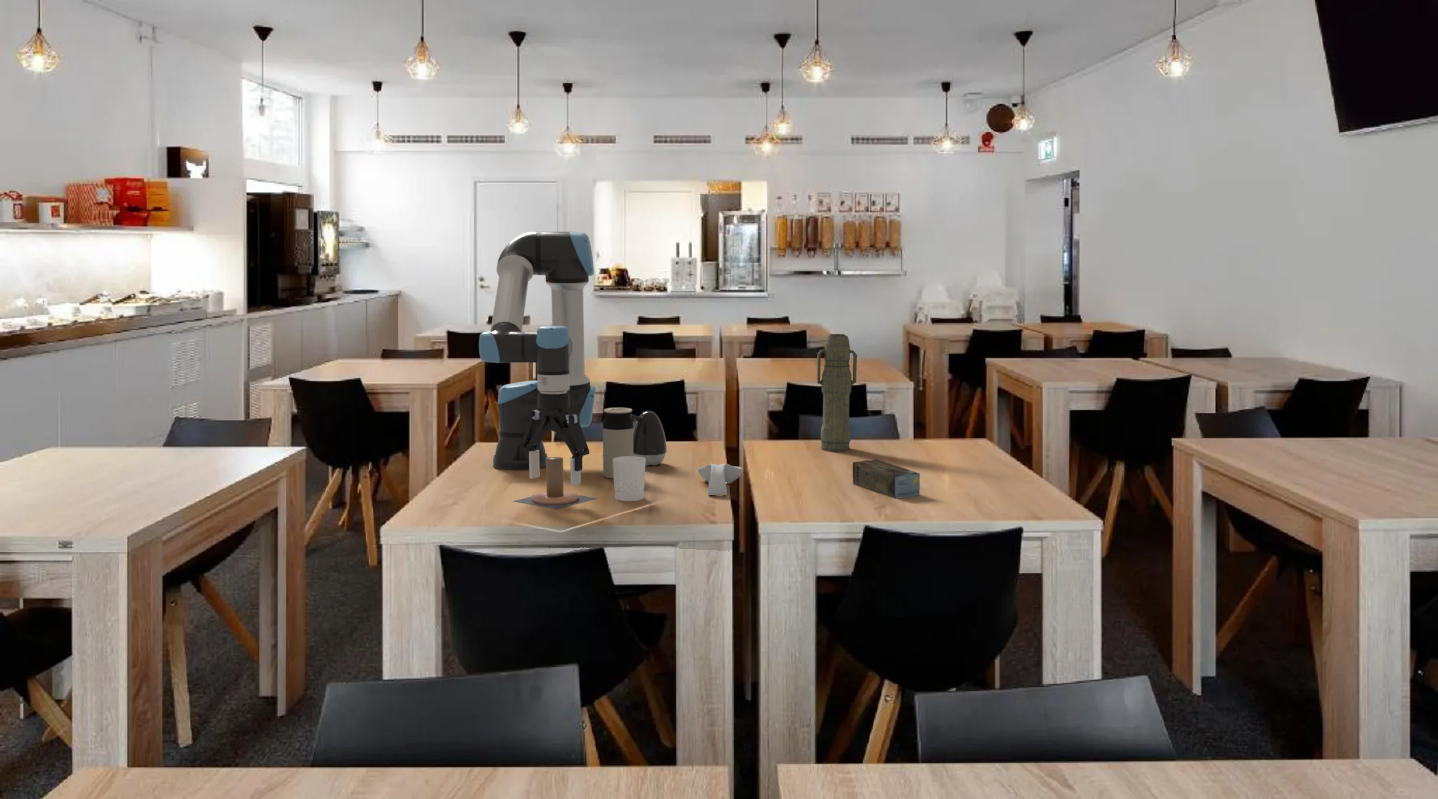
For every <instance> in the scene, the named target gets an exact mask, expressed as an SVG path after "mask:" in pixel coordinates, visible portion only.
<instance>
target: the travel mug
mask: <svg viewBox="0 0 1438 799" xmlns="http://www.w3.org/2000/svg"><path fill="white" fill-rule="evenodd" d="M632 412H633V409H632V408H628V407H608V408H604V409H603V413H604V416H605V417H604V419H603V421H602V465H603V466H602V467H603V468H602V469H603V470H602V474H603V477H604V478H607V479H611V480H614V477H613V459H614V458H617V457H624V456H633V431H634V420H633V419H632V418H631V417H630V416H631V415H632Z"/></svg>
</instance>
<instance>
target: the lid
mask: <svg viewBox="0 0 1438 799" xmlns="http://www.w3.org/2000/svg"><path fill="white" fill-rule="evenodd" d="M545 477H546V478H545V480H546V488H545V489H546V491H540V492H535V493H534V494H532V502H534V503H537V504H543V505H562V504H569V503H573V502H576V501H578V495H579V493H577V492H574V491H571V490H570V491H569V490H564V458H563V457H559V456H550V457H548V458H546V466H545Z"/></svg>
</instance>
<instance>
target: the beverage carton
mask: <svg viewBox="0 0 1438 799" xmlns="http://www.w3.org/2000/svg"><path fill="white" fill-rule="evenodd" d="M920 480H921V474H920V473H919V472H916V471H913V470H911V469H908V468H905V467H901V466H899V465H895V464H892V463H890V462H886V461H883V460H880V459H877V458H876V459H869V460H868V459H867V460H861V461H853V463H852V484H853V485H855V486H859V487H861V488H864V489H866V490H869V491H872V492H876V493H877V494H881V495H884V496H886V495H887V497H890V498H893V497H894V498H893V499H900V498H899V497H903V498H911V497H918V496H920V489H921V486H920V485H921V484H920Z"/></svg>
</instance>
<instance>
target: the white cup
mask: <svg viewBox="0 0 1438 799" xmlns="http://www.w3.org/2000/svg"><path fill="white" fill-rule="evenodd" d="M645 461H646V459H645V458H643V457H636V456H624V457H617V458H614V459H613V477H614V479H613V489H614V498H615V500H617V501H621V502H635V501H640V500H641V501H642V500H643V499H644V494H645V493H644V492H645V490H644V489H645V480H646V466H645Z"/></svg>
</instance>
